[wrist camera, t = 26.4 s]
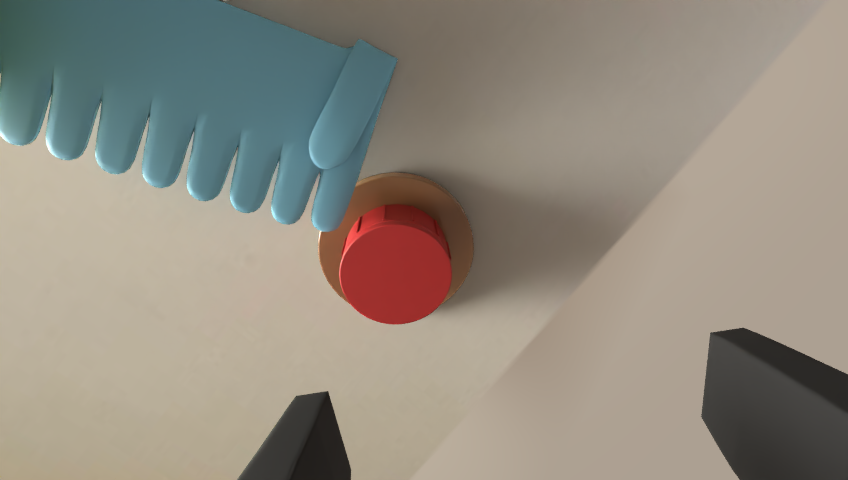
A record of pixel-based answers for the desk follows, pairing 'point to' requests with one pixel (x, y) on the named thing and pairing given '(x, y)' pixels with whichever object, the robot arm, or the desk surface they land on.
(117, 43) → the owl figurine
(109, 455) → the desk surface
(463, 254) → the coaster
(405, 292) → the cap
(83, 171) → the desk surface
